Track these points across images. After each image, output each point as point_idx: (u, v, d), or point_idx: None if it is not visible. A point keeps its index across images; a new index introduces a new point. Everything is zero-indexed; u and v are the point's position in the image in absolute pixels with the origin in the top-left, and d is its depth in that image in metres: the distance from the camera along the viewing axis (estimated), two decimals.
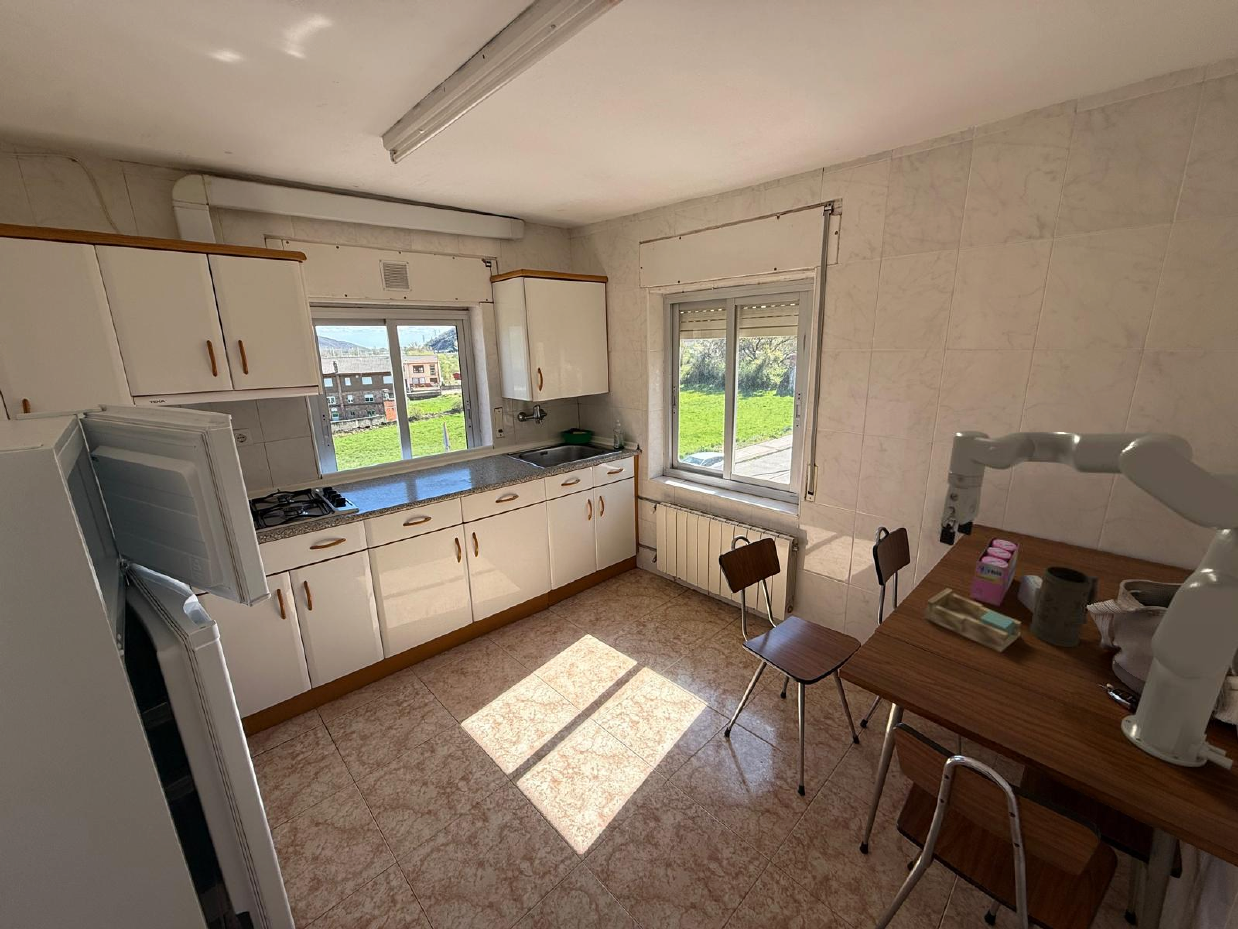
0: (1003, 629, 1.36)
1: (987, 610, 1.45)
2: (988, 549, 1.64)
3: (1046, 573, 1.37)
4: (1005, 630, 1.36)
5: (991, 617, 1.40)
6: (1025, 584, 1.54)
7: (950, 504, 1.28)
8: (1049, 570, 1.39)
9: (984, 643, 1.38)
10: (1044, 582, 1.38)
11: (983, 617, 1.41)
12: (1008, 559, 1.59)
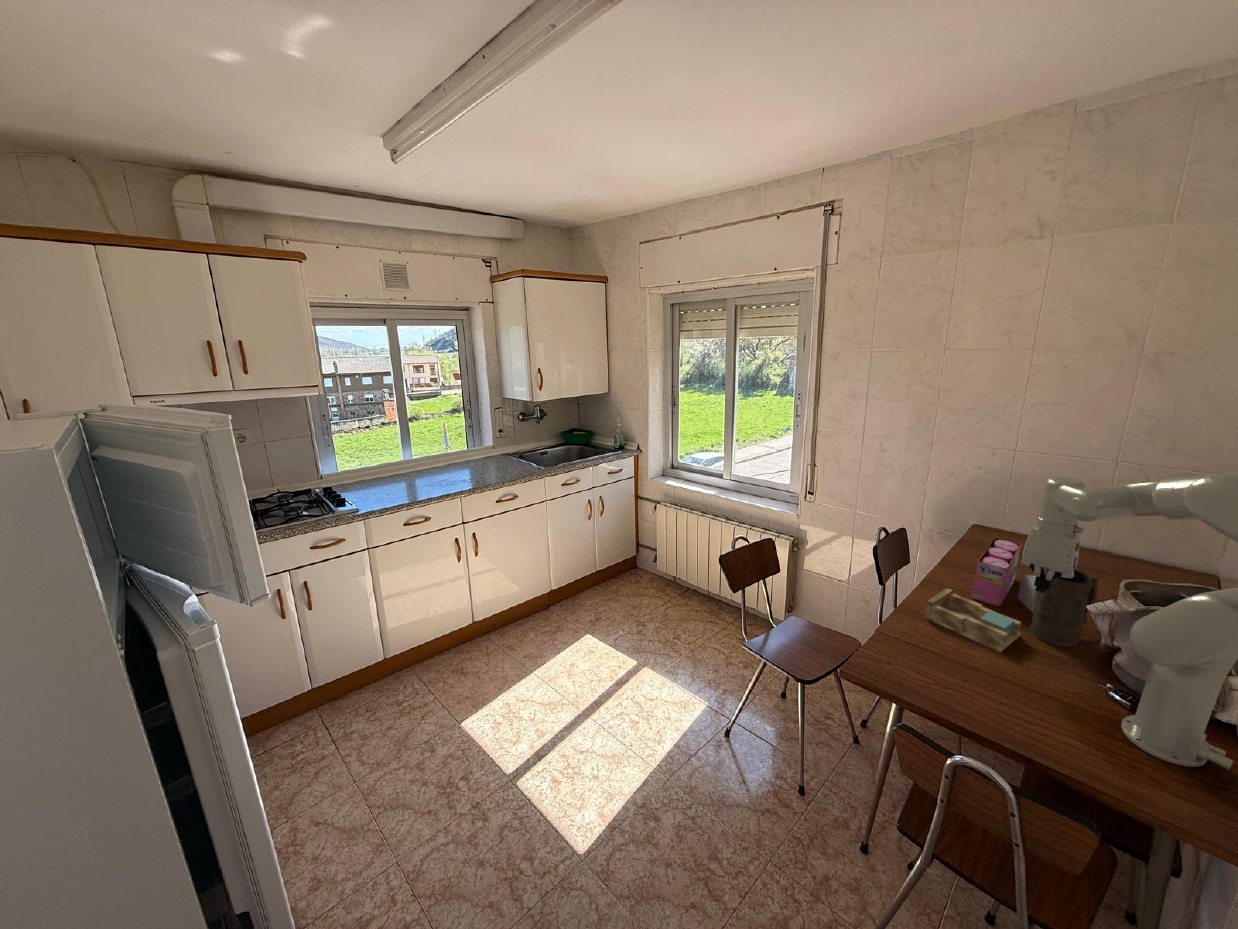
0: (1003, 629, 1.36)
1: (987, 610, 1.45)
2: (989, 549, 1.64)
3: (1046, 573, 1.37)
4: (1005, 630, 1.36)
5: (991, 617, 1.40)
6: (1025, 584, 1.54)
7: (1075, 555, 1.22)
8: None
9: (984, 643, 1.38)
10: None
11: (983, 617, 1.41)
12: (1009, 559, 1.59)
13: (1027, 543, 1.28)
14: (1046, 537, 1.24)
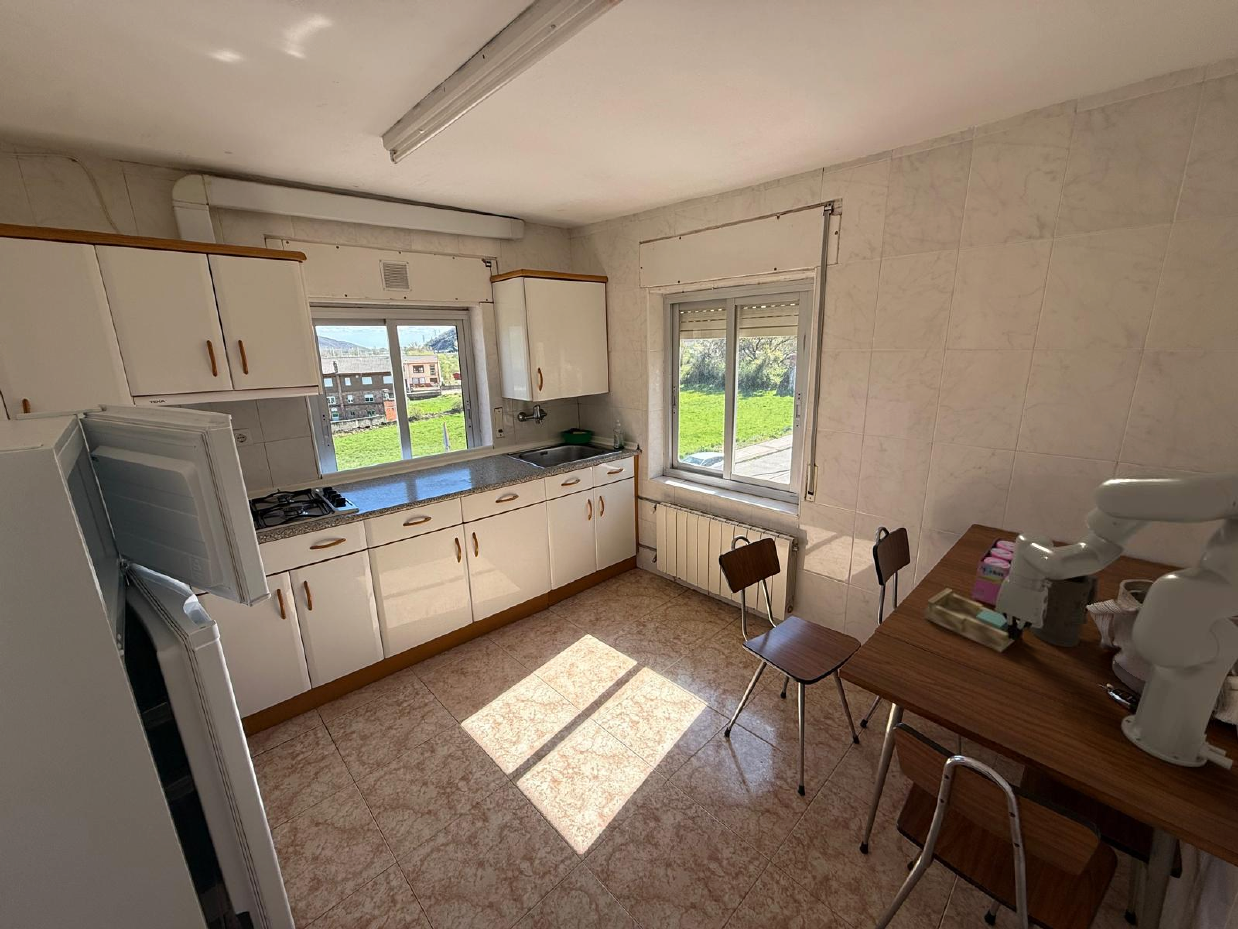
0: (999, 627, 1.37)
1: None
2: (991, 550, 1.64)
3: None
4: (1001, 628, 1.37)
5: (987, 616, 1.41)
6: None
7: (1044, 607, 1.29)
8: None
9: (984, 643, 1.38)
10: None
11: (979, 615, 1.42)
12: (1011, 560, 1.58)
13: (1000, 593, 1.36)
14: (1017, 589, 1.32)
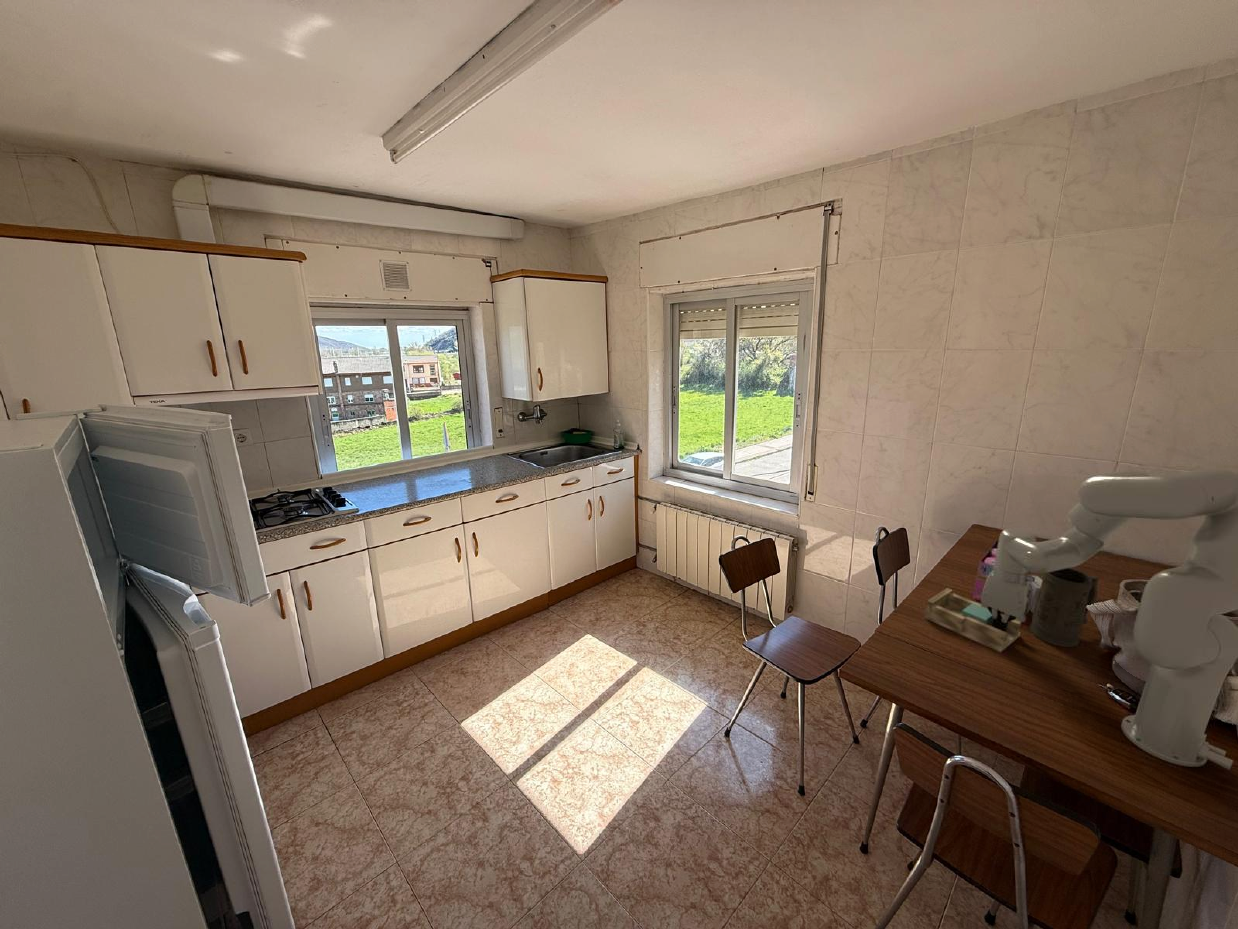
0: (984, 621, 1.40)
1: None
2: (992, 550, 1.63)
3: (1046, 573, 1.37)
4: (986, 622, 1.40)
5: (972, 610, 1.44)
6: None
7: (1027, 601, 1.32)
8: None
9: (984, 643, 1.38)
10: (1044, 582, 1.38)
11: (965, 610, 1.45)
12: None
13: (985, 588, 1.39)
14: (1001, 583, 1.35)
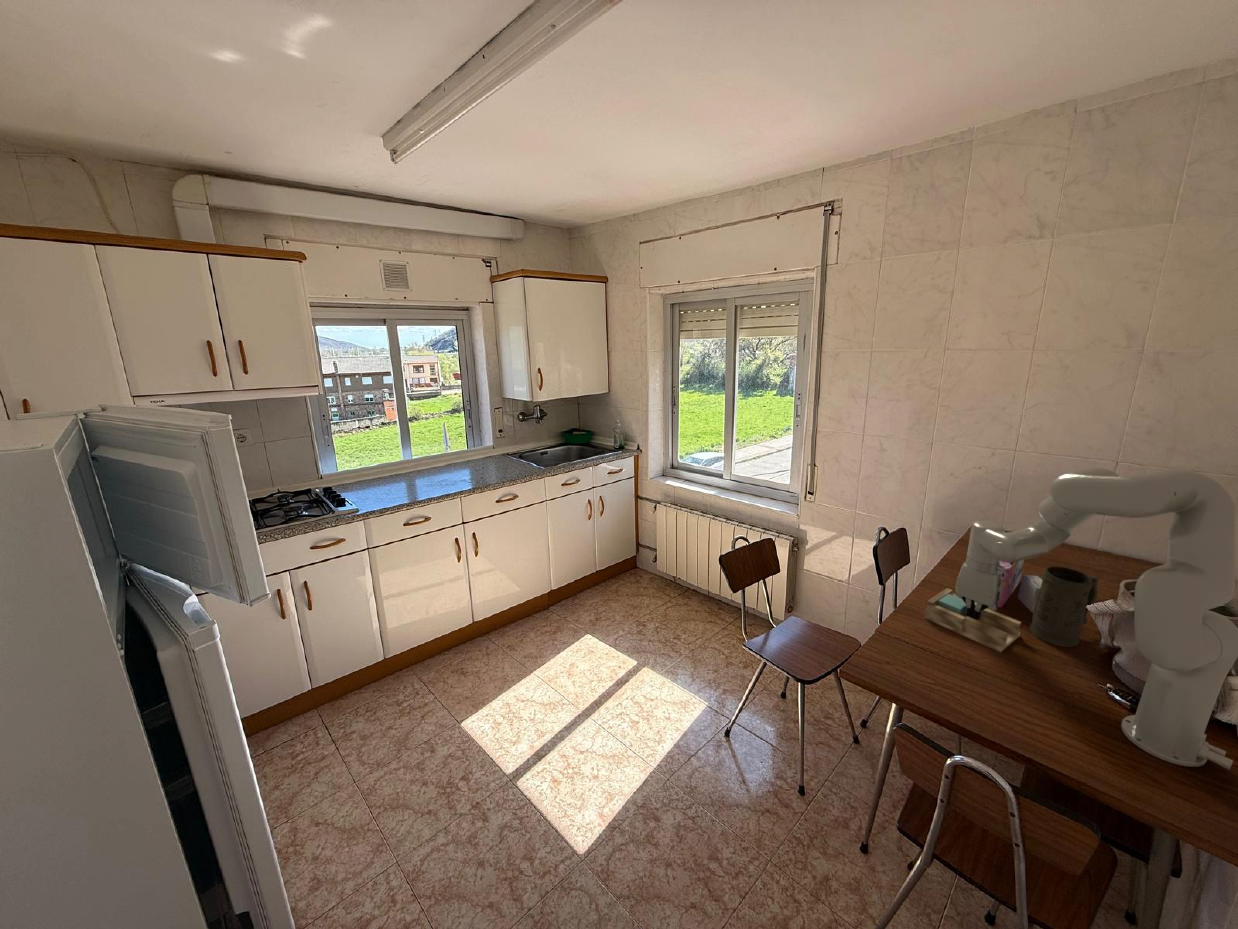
0: (958, 610, 1.45)
1: (987, 610, 1.45)
2: None
3: (1046, 573, 1.37)
4: (960, 611, 1.46)
5: (948, 600, 1.50)
6: (1025, 584, 1.54)
7: (998, 590, 1.38)
8: (1049, 570, 1.39)
9: (984, 643, 1.38)
10: (1044, 582, 1.38)
11: (941, 600, 1.50)
12: None
13: (958, 578, 1.45)
14: (973, 573, 1.40)
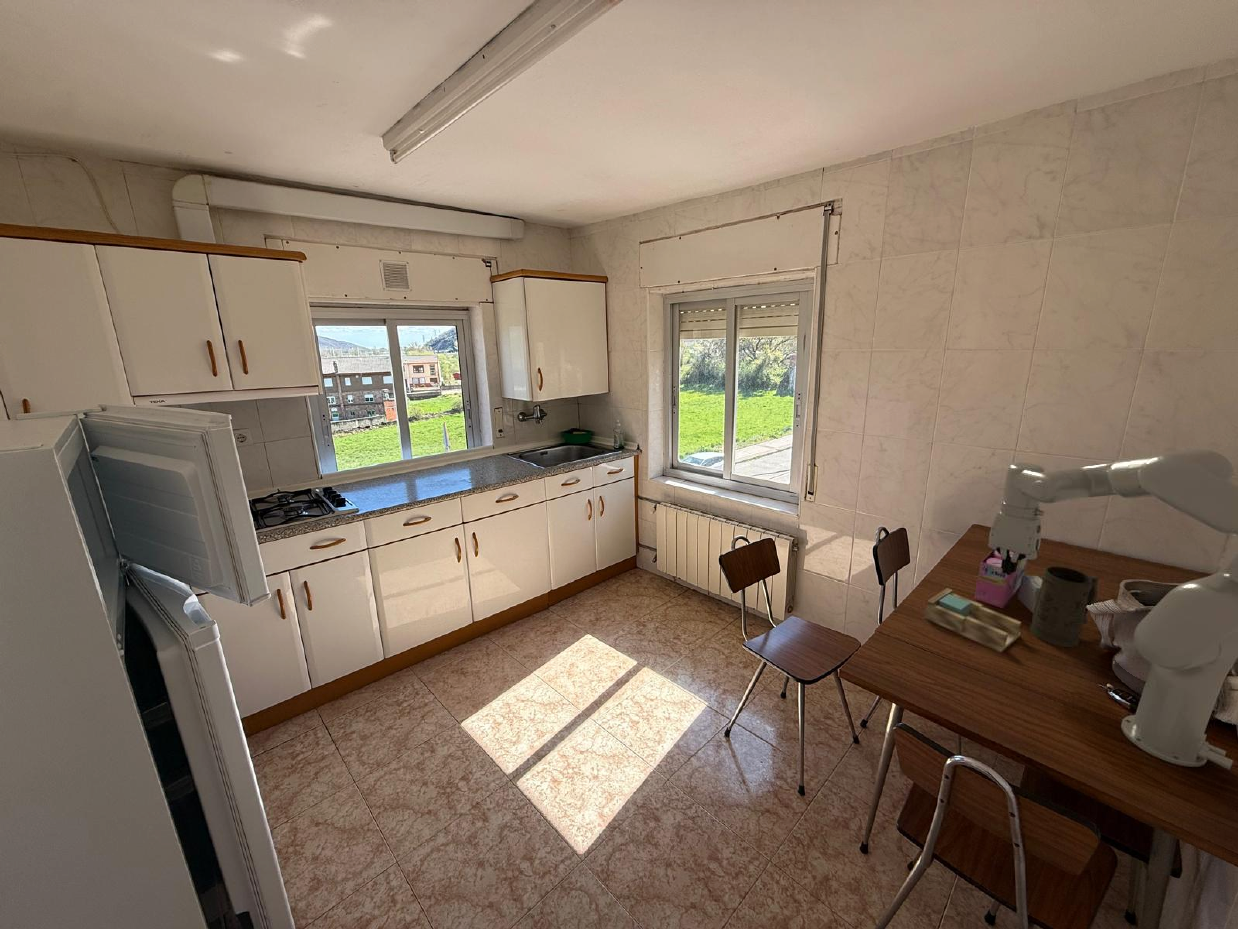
0: (959, 611, 1.45)
1: (987, 610, 1.45)
2: (995, 551, 1.63)
3: (1046, 573, 1.37)
4: (961, 612, 1.45)
5: (949, 600, 1.49)
6: (1025, 584, 1.54)
7: (1037, 537, 1.27)
8: (1049, 570, 1.39)
9: (984, 643, 1.38)
10: (1044, 582, 1.38)
11: (942, 600, 1.50)
12: None
13: (992, 527, 1.34)
14: (1009, 520, 1.30)
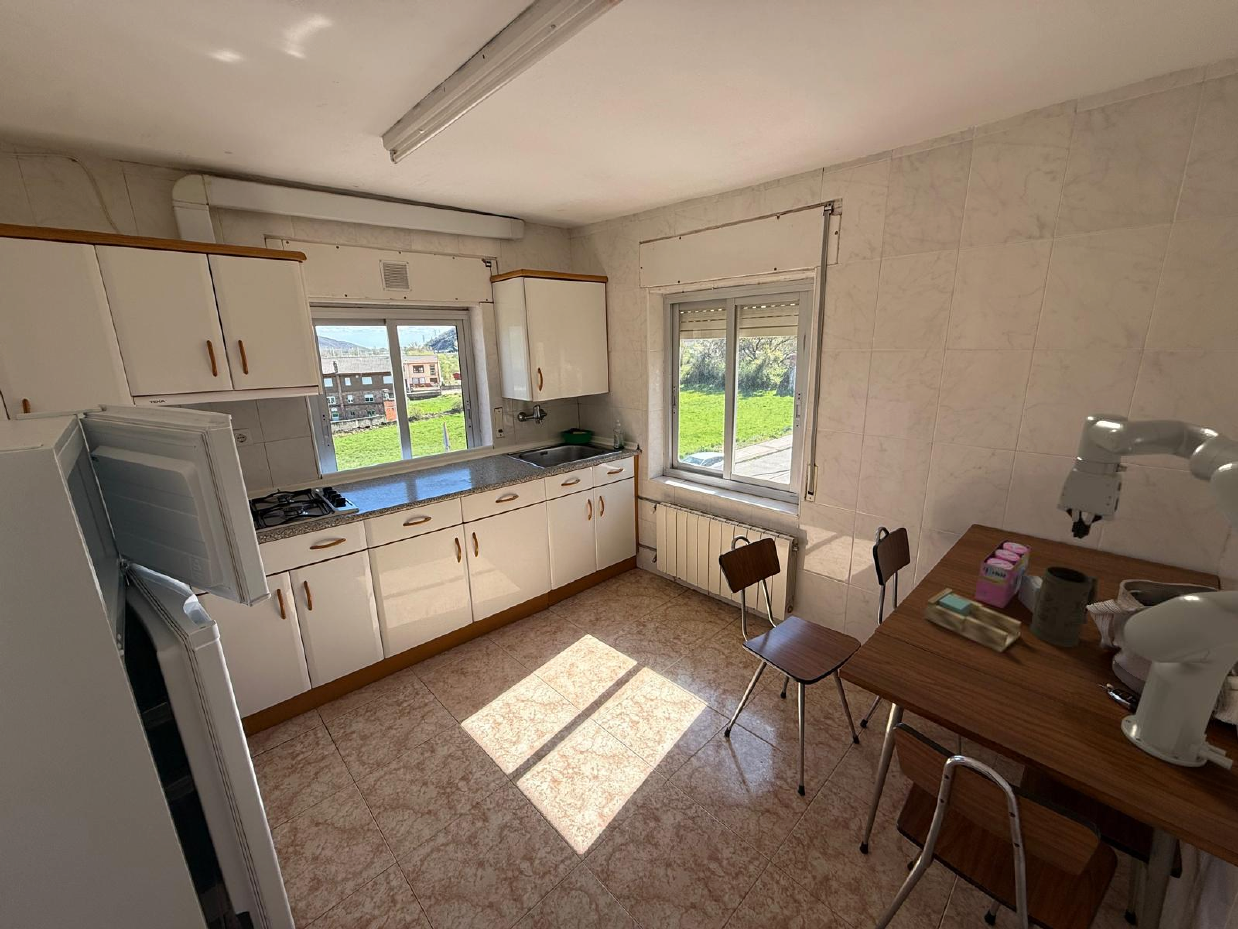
0: (959, 611, 1.45)
1: (987, 610, 1.45)
2: (996, 551, 1.63)
3: (1046, 573, 1.37)
4: (961, 612, 1.45)
5: (949, 600, 1.49)
6: (1025, 584, 1.54)
7: (1117, 496, 1.15)
8: (1049, 570, 1.39)
9: (984, 643, 1.38)
10: (1044, 582, 1.38)
11: (942, 600, 1.50)
12: (1016, 562, 1.57)
13: (1064, 487, 1.22)
14: (1085, 477, 1.18)
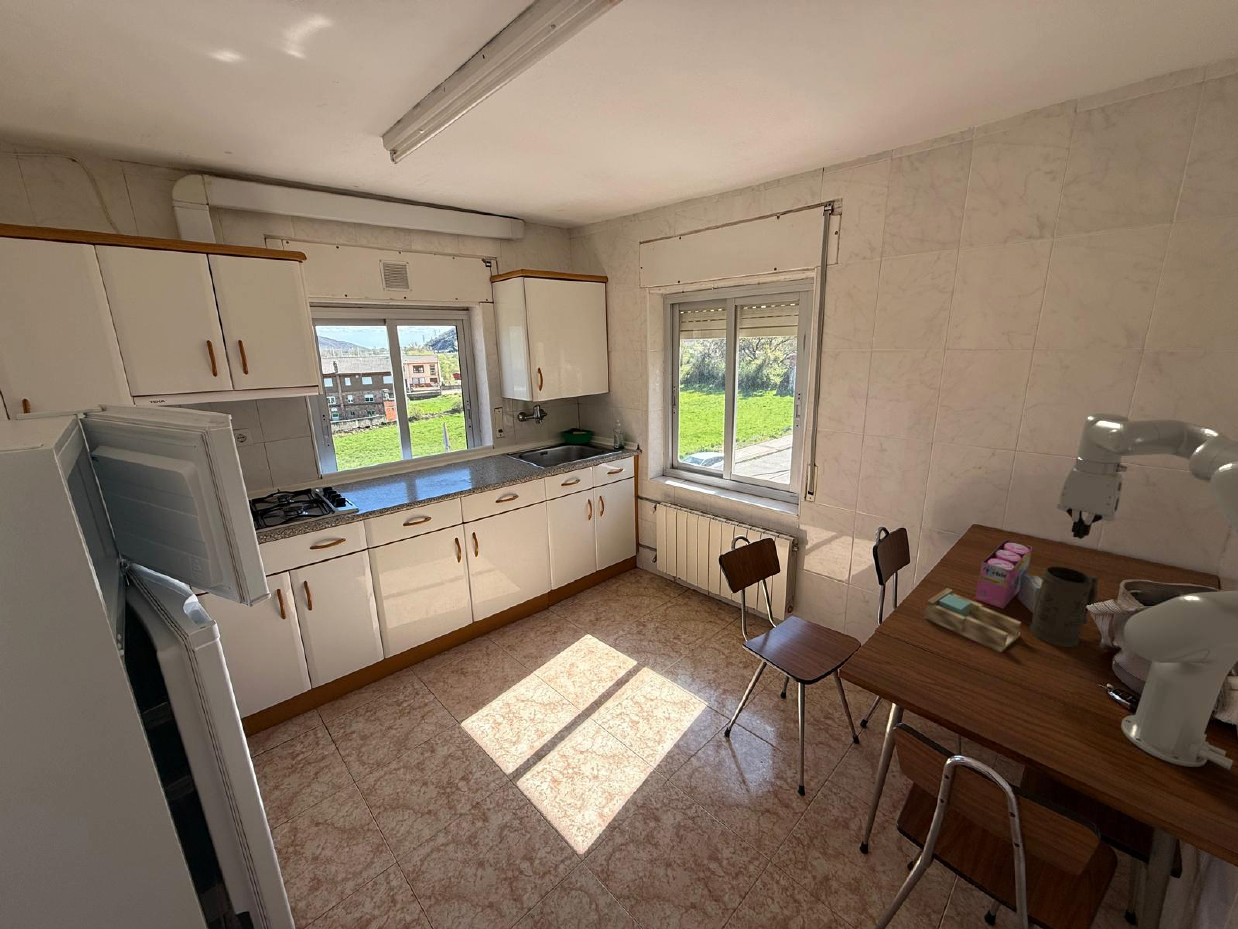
0: (959, 611, 1.45)
1: (987, 610, 1.45)
2: (997, 551, 1.62)
3: (1046, 573, 1.37)
4: (961, 612, 1.45)
5: (949, 600, 1.49)
6: (1025, 584, 1.54)
7: (1117, 496, 1.15)
8: (1049, 570, 1.39)
9: (984, 643, 1.38)
10: (1044, 582, 1.38)
11: (942, 600, 1.50)
12: (1017, 562, 1.57)
13: (1064, 486, 1.22)
14: (1086, 477, 1.18)
